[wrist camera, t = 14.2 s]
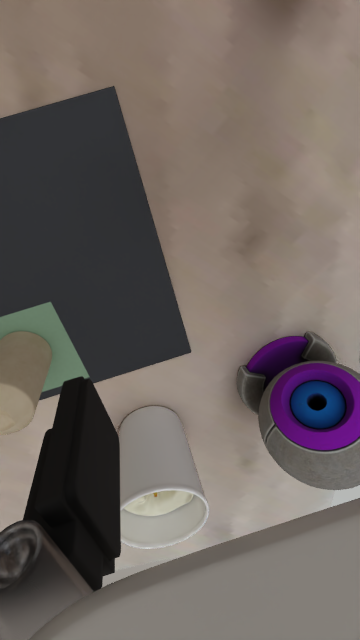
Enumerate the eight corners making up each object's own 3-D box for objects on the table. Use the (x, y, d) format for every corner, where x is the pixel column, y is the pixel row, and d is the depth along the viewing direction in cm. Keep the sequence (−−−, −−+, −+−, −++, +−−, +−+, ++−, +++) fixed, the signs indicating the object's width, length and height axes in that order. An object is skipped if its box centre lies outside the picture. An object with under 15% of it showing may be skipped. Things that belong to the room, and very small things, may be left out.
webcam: (317, 313, 37) (424, 398, 24) (339, 383, 44) (433, 480, 31) (222, 363, 38) (275, 471, 25) (256, 424, 45) (313, 536, 32)
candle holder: (97, 437, 40) (90, 535, 30) (146, 388, 38) (156, 476, 28) (155, 463, 45) (166, 557, 34) (201, 420, 42) (228, 507, 32)
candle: (21, 382, 34) (-12, 458, 26) (-17, 346, 32) (-67, 418, 23) (63, 358, 34) (44, 428, 25) (29, 321, 31) (-6, 384, 23)
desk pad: (-181, 170, 23) (-183, 171, 23) (114, 86, 24) (114, 86, 24) (1, 411, 36) (1, 412, 36) (191, 351, 37) (191, 352, 37)
